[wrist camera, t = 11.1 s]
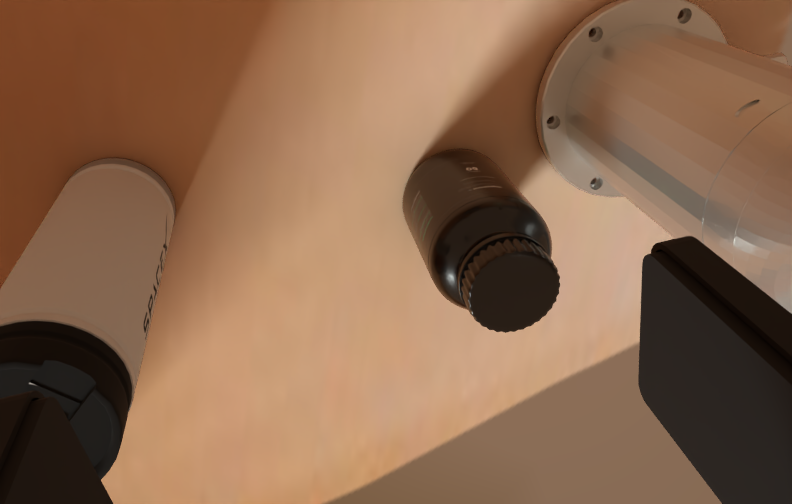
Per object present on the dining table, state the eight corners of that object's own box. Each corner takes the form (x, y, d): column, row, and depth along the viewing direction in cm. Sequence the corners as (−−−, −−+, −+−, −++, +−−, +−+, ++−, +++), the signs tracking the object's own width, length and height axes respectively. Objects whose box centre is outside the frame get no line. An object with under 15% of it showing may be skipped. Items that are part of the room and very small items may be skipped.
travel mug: (39, 222, 39) (-128, 485, 22) (98, 135, 38) (-33, 346, 20) (137, 274, 42) (57, 545, 25) (196, 195, 40) (155, 426, 23)
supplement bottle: (516, 154, 43) (599, 239, 33) (487, 248, 46) (555, 353, 36) (413, 138, 41) (467, 222, 31) (390, 237, 44) (433, 345, 34)
